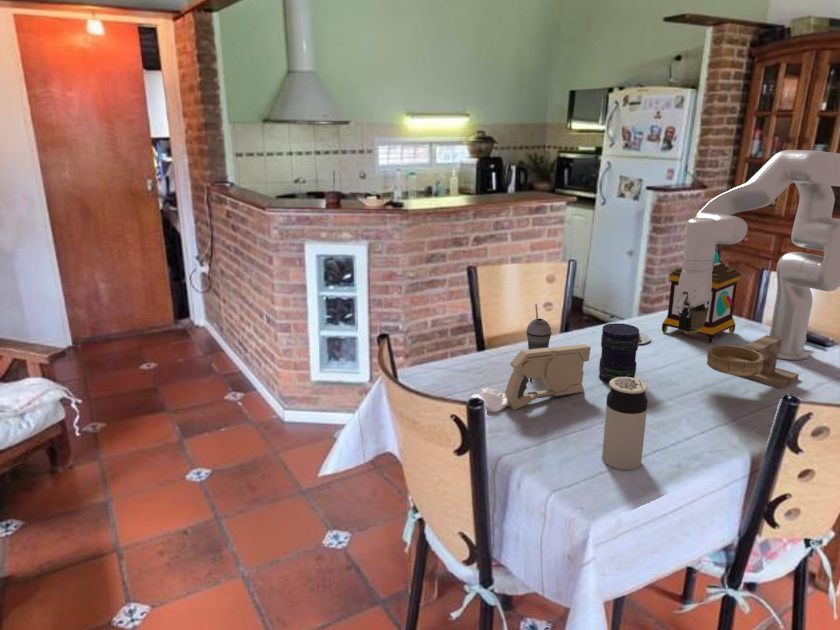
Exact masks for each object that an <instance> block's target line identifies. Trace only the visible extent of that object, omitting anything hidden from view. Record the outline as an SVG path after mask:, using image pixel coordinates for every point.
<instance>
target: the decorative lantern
mask: <svg viewBox="0 0 840 630" xmlns="http://www.w3.org/2000/svg"><path fill="white" fill-rule="evenodd" d="M719 259H720V256H719V253H718V252H717V250H715V255H714V264H713V271H712V288H711V294H712V296H711V298H710V300H709V304H708V307H709V309H708V313H707V317H706V322H705V325H704V326H703V327H702V328H700V329H698V330H699V332H698V333H697V335H698V334H699V335H702V336H705V337H707V343H708V345H711V344H712V343H713V341H714V337H716V335H719V334H721V333H723V332H725V331H727V330H728V332H729V334H734V332H735V330H736V322H735V320H734V317H733V314H734V313H733V312H734V305H735V299H736V293H737V284H738V281H739V280H740V279H741V277H742V274H741V273H740V272H739V271H738V270H736V268H733V267H732V268H731V267H729V266H728V265H726V264H725V263H723V261H722V260H719ZM681 272H682V266H681V267H678V268H676V269H675V270H673V271H671V273H668V277H669V280H670V291H669V302H668V309H667V315H666V317H665V319H664V320H663V322H662V324H661V331H662V333H664V334H665V333H667V331H668V327H670V328H674V329H678V330H680V329H679V328H678V327H679V313H678V310H677V308H676V305H677V304H676V298H677V291H678V285H679V280H680V276H681Z"/></svg>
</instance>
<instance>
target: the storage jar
mask: <svg viewBox="0 0 840 630" xmlns="http://www.w3.org/2000/svg"><path fill="white" fill-rule="evenodd" d="M609 318H610V319H614V318H615V316H614V315H610V316H609ZM639 333H640V328H638V327H636V326H634V325H632V324H627V323H619V322H618V323H617V322H616V323H615V322H614V323H607V324H604V325H603V326H602V332H601V340H600V341H601V342H600V347H601V356H600V359H599V364H598V365H599V367H598V371H599V374H598V378H599V381H601V382H603V383H604V384H605V383H606V384H608V385H610V384H609V382H610V380H612V379H614V378H617V377H631V378H635V376H636V374H637V373H636V371H637V361H636V359H637V358H636V357H637V351H638V348H639V344H638V343H640V341H639V335H638V334H639Z"/></svg>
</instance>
